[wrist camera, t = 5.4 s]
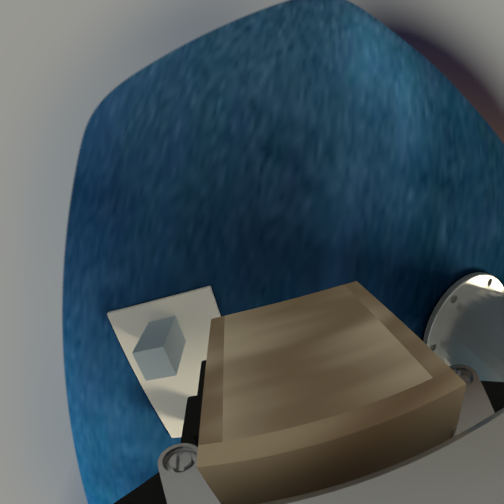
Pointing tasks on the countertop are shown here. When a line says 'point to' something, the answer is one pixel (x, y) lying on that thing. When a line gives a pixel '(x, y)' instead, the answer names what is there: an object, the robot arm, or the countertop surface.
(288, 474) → the wood grain cube
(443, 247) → the countertop surface
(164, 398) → the post stand
